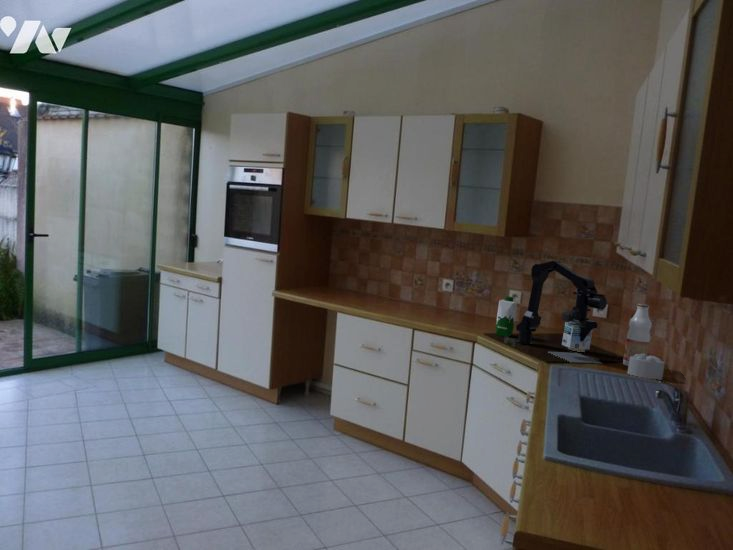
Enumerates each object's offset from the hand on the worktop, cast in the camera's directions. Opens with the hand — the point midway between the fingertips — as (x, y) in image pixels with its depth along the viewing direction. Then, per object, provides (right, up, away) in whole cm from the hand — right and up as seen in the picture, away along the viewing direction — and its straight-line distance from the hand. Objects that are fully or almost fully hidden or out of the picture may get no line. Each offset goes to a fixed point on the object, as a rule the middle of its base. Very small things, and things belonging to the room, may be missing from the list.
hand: (576, 339), depth 276 cm
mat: (-1, -8, +1) cm, 9 cm away
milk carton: (-24, -2, +42) cm, 48 cm away
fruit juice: (+25, -12, -2) cm, 28 cm away
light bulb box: (0, -4, 0) cm, 4 cm away
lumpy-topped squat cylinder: (+21, -13, -20) cm, 32 cm away
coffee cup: (+6, -8, +19) cm, 22 cm away
